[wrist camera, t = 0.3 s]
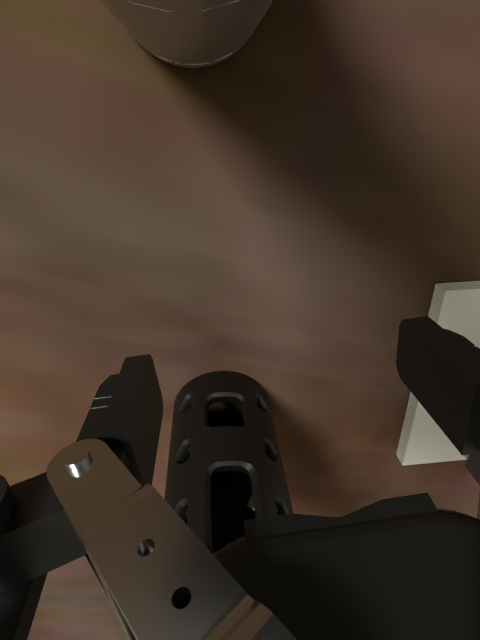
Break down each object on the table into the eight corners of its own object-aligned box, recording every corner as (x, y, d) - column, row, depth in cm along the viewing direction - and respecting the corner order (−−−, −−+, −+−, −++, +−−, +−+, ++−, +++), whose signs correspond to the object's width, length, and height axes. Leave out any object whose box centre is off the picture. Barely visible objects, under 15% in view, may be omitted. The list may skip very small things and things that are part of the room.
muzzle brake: (265, 450, 39) (276, 367, 34) (371, 1018, 14) (461, 1012, 10) (172, 452, 38) (169, 367, 33) (114, 1065, 13) (69, 1084, 9)
